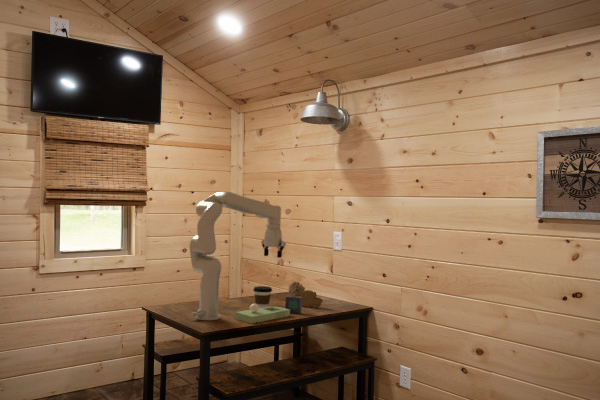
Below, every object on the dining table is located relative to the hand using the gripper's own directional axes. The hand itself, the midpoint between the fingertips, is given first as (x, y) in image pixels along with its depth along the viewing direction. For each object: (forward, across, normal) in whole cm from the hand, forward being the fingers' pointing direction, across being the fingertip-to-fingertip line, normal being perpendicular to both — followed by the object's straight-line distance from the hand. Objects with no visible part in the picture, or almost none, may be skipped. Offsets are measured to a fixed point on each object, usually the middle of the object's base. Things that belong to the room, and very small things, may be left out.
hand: (272, 256), depth 290 cm
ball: (+24, +10, -27) cm, 38 cm away
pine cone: (+30, -5, +36) cm, 47 cm away
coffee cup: (+30, -2, -5) cm, 30 cm away
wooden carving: (+30, +14, +18) cm, 37 cm away
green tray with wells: (+30, +11, -21) cm, 38 cm away
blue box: (+30, +16, -1) cm, 34 cm away
